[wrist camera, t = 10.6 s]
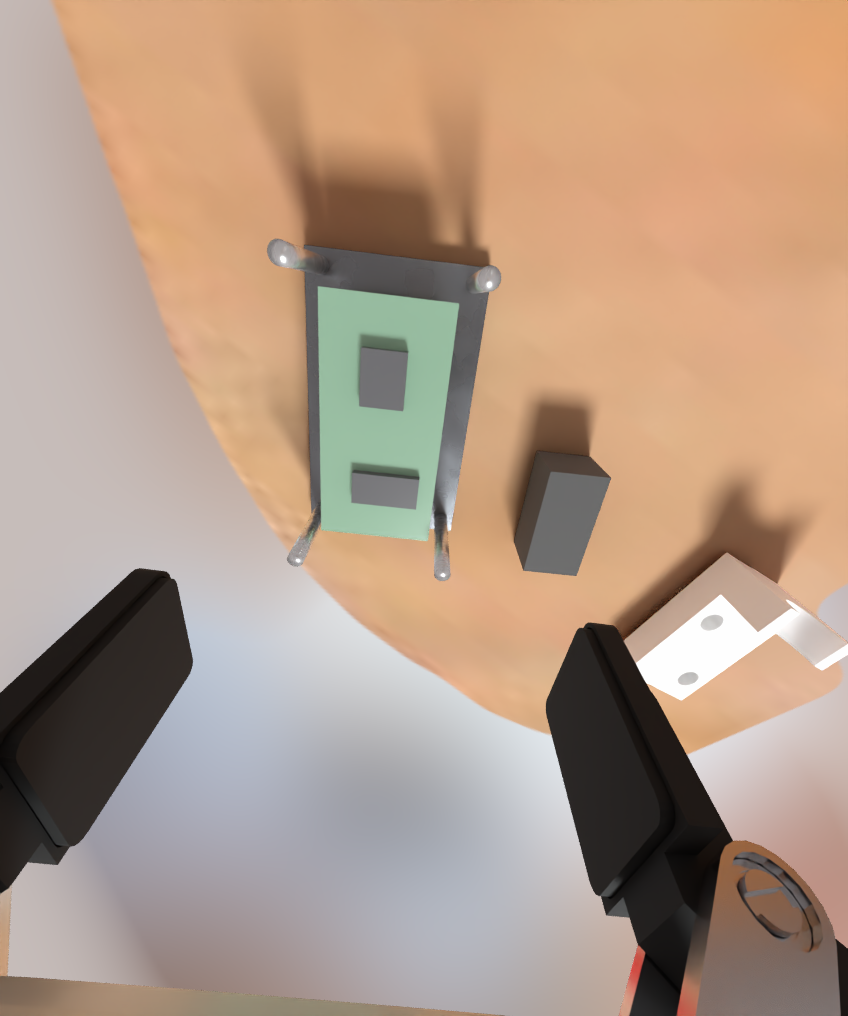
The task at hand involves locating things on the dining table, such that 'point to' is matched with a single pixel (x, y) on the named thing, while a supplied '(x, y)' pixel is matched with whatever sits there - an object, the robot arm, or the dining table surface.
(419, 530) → the board
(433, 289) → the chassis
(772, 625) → the bracket
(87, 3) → the dining table surface
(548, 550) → the block
